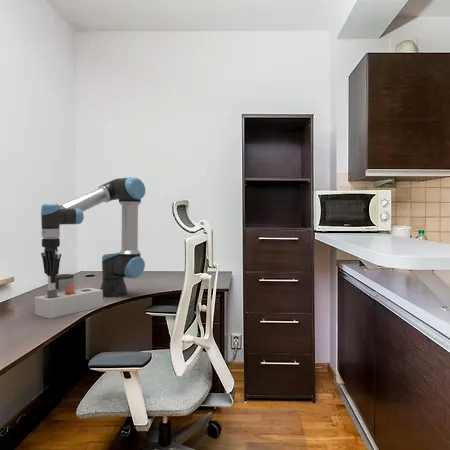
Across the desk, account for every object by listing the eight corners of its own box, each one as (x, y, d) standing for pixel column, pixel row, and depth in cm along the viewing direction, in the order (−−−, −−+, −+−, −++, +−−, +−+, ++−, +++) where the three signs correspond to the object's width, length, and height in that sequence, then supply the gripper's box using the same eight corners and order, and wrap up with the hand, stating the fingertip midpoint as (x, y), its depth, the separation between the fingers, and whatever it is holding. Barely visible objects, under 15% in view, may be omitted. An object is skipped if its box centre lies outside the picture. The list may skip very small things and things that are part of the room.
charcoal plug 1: (54, 304, 190) (53, 289, 190) (58, 305, 188) (58, 290, 187) (45, 305, 187) (45, 290, 187) (50, 307, 185) (50, 291, 184)
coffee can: (48, 305, 205) (48, 277, 205) (57, 300, 216) (57, 274, 215) (69, 305, 205) (68, 277, 205) (77, 300, 215) (76, 273, 215)
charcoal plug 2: (87, 302, 205) (87, 288, 204) (92, 303, 202) (92, 289, 202) (80, 304, 201) (80, 290, 201) (85, 305, 199) (85, 291, 199)
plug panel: (88, 303, 209) (87, 287, 209) (102, 306, 202) (102, 290, 202) (35, 314, 187) (34, 297, 187) (49, 318, 180) (48, 300, 180)
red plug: (71, 298, 197) (71, 284, 197) (76, 299, 195) (76, 284, 195) (63, 300, 194) (63, 285, 194) (68, 301, 192) (68, 286, 191)
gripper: (35, 238, 187) (36, 289, 188) (50, 239, 179) (51, 292, 180) (50, 237, 193) (51, 287, 194) (66, 238, 185) (67, 290, 186)
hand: (51, 289), depth 187 cm, fingers closed
